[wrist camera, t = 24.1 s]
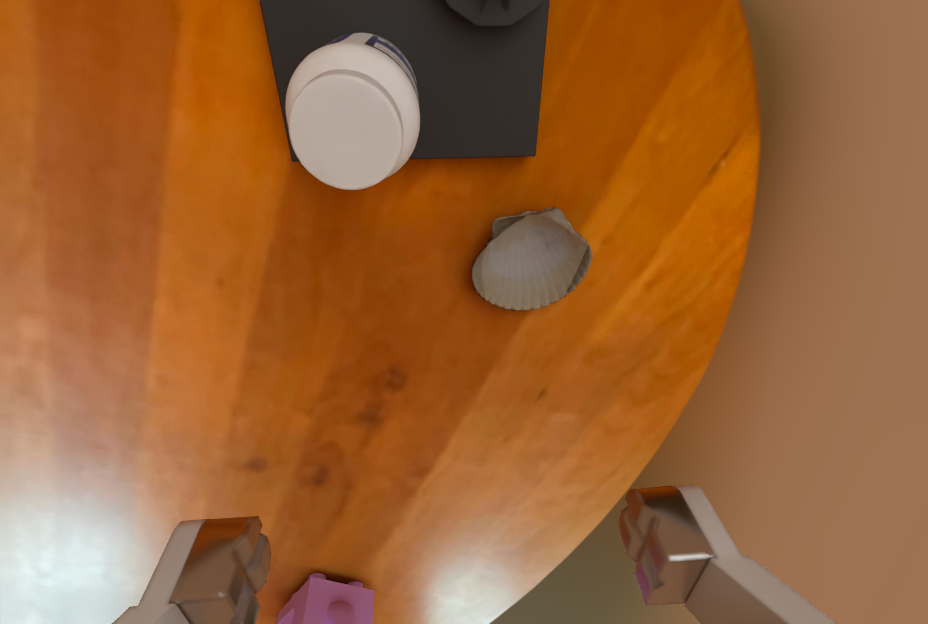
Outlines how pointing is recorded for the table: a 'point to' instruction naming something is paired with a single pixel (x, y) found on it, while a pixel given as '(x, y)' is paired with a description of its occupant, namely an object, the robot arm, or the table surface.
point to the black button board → (436, 64)
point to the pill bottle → (353, 111)
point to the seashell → (531, 260)
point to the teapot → (328, 603)
